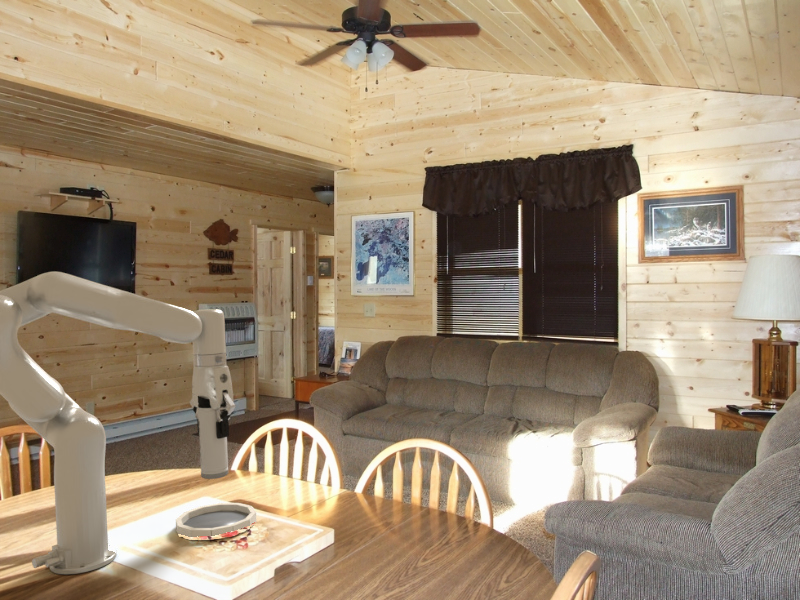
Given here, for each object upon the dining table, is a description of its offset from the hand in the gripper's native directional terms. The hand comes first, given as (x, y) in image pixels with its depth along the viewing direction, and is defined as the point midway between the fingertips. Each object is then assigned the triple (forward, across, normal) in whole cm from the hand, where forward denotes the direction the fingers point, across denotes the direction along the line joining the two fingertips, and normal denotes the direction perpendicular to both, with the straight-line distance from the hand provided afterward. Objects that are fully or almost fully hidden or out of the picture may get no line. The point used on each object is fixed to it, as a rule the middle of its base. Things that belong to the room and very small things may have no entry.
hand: (213, 435), depth 151 cm
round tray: (+22, 0, 0) cm, 22 cm away
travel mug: (+10, 0, 0) cm, 10 cm away
